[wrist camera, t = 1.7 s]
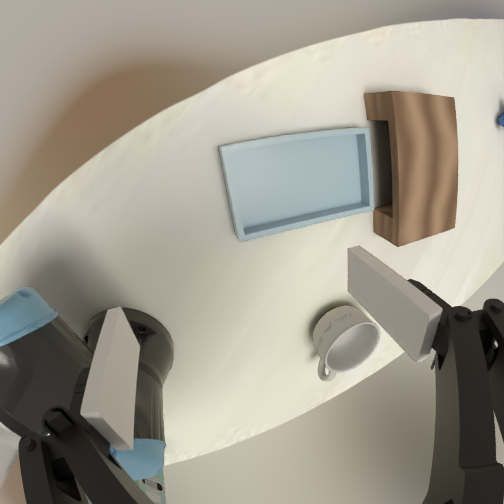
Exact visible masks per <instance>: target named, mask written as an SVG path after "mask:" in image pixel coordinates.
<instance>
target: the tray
mask: <svg viewBox="0 0 504 504" xmlns="http://www.w3.org/2000/svg"><path fill="white" fill-rule="evenodd" d="M218 148H219V153H220V158H221V163H222V169H223V174H224V179H225V184H226V189H227V194H228V199H229V204H230V209H231V214H232V219H233V224H234V229H235V234H236V236H237V238H238V240H239V242H243V241H247V240H251V239H255V238H260V237H264V236H268V235H272V234H276V233H280V232H284V231H288V230H293V229H297V228H301V227H305V226H309V225H313V224H318V223H322V222H326V221H330V220H335V219H339V218H343V217H347V216H352V215H356V214H360V213H365V212H369V211H373V210H374V190H373V170H372V156H371V144H370V134H369V128H367V127H351V128H338V129H328V130H318V131H309V132H301V133H293V134H286V135H279V136H272V137H266V138H260V139H254V140H248V141H243V142H237V143H232V144H227V145H222V146H218Z"/></svg>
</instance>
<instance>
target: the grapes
mask: <svg viewBox="0 0 504 504" xmlns="http://www.w3.org/2000/svg"><path fill="white" fill-rule="evenodd" d="M498 122H499V124H500V125H502V126H503V127H504V113H503V114H502V115H501V116H500V118H499V119H498Z"/></svg>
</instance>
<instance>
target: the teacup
mask: <svg viewBox="0 0 504 504" xmlns="http://www.w3.org/2000/svg"><path fill="white" fill-rule="evenodd" d="M379 339H380V329H379V327H378V326H377V325H376V324H375V323H373V322H372V321H371V320H370V319H369V318H368V317H367V316H366V315H365V314H364V313H363V312H362V311H360V310H359V309H357V308H355V307H353V306H340V307H337V308H334V309H332V310H330V311H329V312H327V313H326V314H325V315H323V317H322V318H321V319H320V320H319V322H318V323H317V325H316V327H315V329H314V332H313V344H314V347H315V349H316V351H317V353H318V354H319V356H320V361H319V365H318V375H319V377H320V379H321V380H323V381H331V380H333V378H334V377H335V375H336V373H340V372H345V371H349V370H351V369H353V368H355V367H357V366H359V365H360V364H362V363H363V362H364V361H365V360H366V359H367V358H368V357H369V356H370V355H371V354H372V353H373V351H374V350H375V348H376V347H377V345H378V342H379ZM325 366H326V368H327V369H328V370H329V374H328V375H326V373H325Z"/></svg>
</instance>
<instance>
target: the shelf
mask: <svg viewBox="0 0 504 504" xmlns="http://www.w3.org/2000/svg"><path fill="white" fill-rule="evenodd" d="M364 99H365V106H366V113H367V120H388V124H389V135H390V147H391V163H392V190H393V205H388V206H384V207H379V208H375V209H374V210H373V211H374V233H376V234H378V235H379V236H381V237H383V238H384V239H386V240H387V241H389V242H391V243H392V244H394V245H395V246H397V247H399V246H403V245H406V244H409V243H412V242H415V241H418V240H421V239H424V238H427V237H430V236H433V235H436V234H439V233H442V232H445V231H447V230H450V229H453V228H455V220H456V208H457V192H458V138H457V122H456V110H455V101H454V98H453V97H446V96H439V95H431V94H422V93H412V92H399V91H386V92H376V93H368V94H364Z"/></svg>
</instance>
